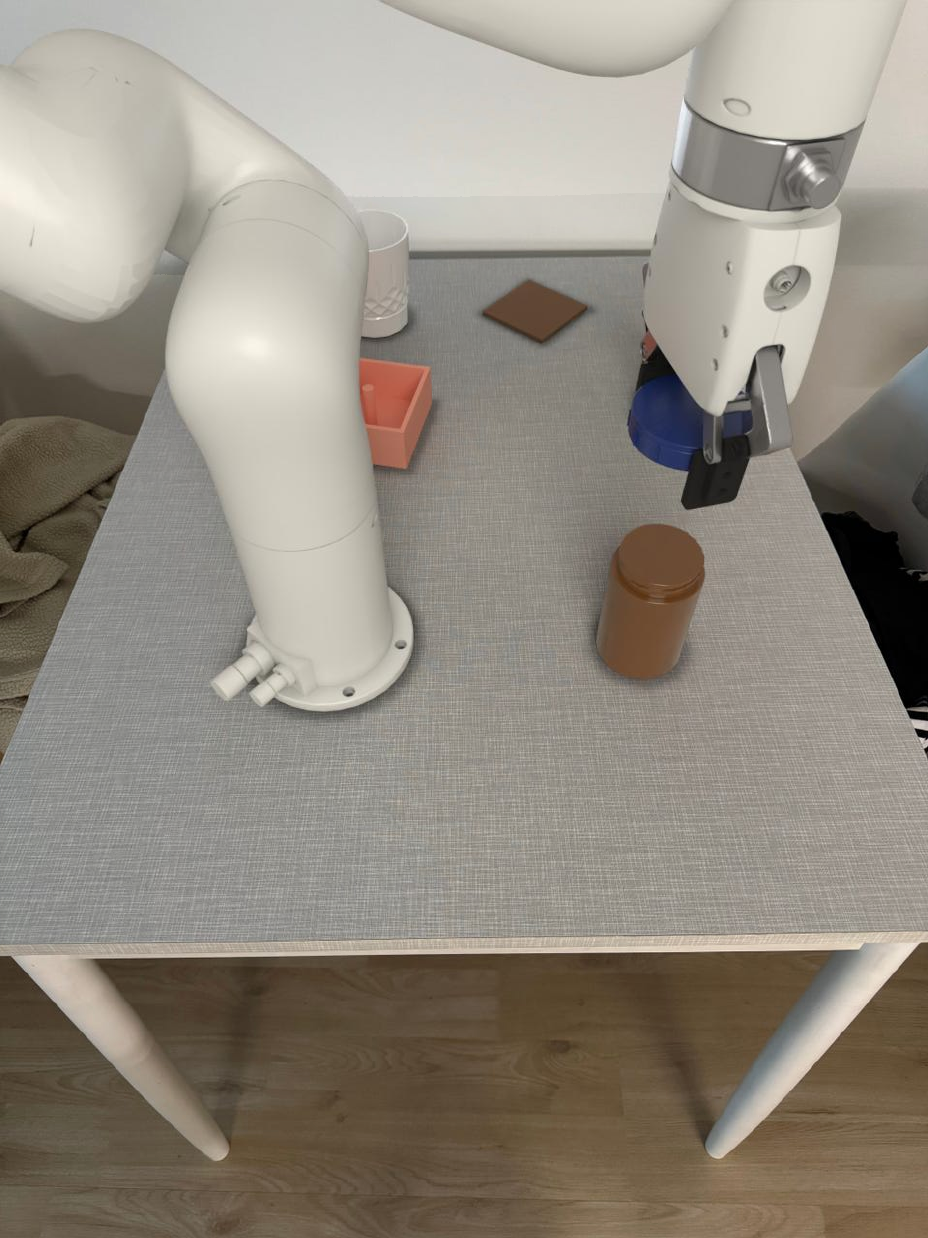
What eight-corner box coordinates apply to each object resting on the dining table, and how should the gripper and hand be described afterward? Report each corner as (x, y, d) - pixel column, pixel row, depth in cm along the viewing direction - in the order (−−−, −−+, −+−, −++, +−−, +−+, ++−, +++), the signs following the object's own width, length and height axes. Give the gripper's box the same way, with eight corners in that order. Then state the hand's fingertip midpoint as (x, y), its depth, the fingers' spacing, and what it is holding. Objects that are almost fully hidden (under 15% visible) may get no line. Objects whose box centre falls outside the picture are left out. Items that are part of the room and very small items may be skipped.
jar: (650, 694, 64) (676, 606, 56) (579, 648, 67) (594, 557, 58) (696, 640, 67) (727, 549, 59) (626, 599, 70) (647, 505, 61)
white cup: (329, 309, 94) (316, 219, 86) (397, 292, 96) (390, 202, 88) (355, 349, 90) (344, 258, 82) (425, 330, 92) (421, 239, 84)
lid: (617, 400, 53) (621, 376, 51) (731, 394, 53) (737, 370, 52) (641, 476, 48) (646, 451, 47) (765, 469, 48) (773, 444, 47)
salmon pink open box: (432, 403, 85) (427, 313, 77) (406, 469, 79) (399, 378, 71) (256, 379, 87) (235, 289, 79) (220, 440, 81) (193, 350, 74)
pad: (542, 343, 90) (542, 339, 90) (482, 314, 94) (482, 311, 93) (587, 308, 94) (587, 305, 94) (528, 282, 97) (528, 279, 97)
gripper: (955, 238, 33) (807, 552, 47) (752, 61, 44) (681, 362, 58) (775, 264, 32) (679, 577, 46) (611, 75, 42) (573, 379, 57)
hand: (680, 456), depth 52 cm, fingers closed on lid, 7 cm apart
